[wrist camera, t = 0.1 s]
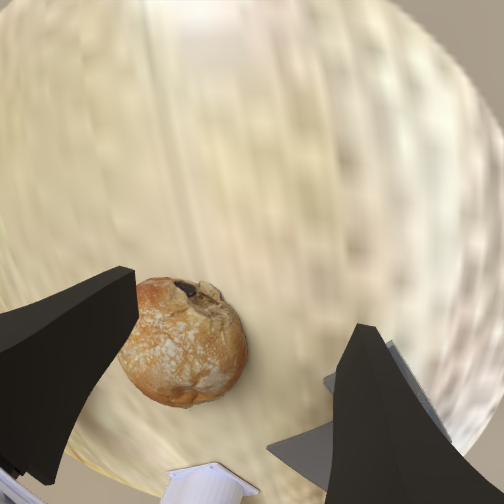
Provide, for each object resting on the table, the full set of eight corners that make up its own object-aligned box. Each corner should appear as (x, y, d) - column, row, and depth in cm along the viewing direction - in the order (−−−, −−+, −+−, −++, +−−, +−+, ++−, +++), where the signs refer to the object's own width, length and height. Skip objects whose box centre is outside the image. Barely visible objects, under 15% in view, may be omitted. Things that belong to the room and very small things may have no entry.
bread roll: (265, 296, 25) (260, 300, 17) (233, 410, 24) (216, 454, 16) (153, 265, 26) (107, 254, 18) (128, 373, 25) (80, 398, 17)
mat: (349, 503, 28) (349, 505, 28) (266, 446, 26) (266, 449, 25) (406, 483, 26) (406, 486, 25) (338, 418, 23) (339, 421, 23)
